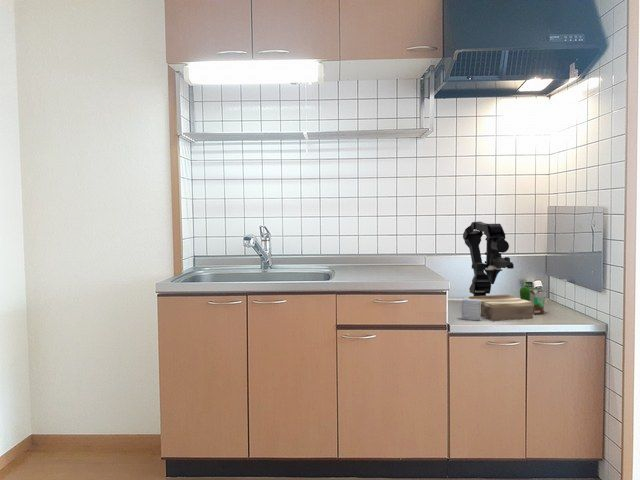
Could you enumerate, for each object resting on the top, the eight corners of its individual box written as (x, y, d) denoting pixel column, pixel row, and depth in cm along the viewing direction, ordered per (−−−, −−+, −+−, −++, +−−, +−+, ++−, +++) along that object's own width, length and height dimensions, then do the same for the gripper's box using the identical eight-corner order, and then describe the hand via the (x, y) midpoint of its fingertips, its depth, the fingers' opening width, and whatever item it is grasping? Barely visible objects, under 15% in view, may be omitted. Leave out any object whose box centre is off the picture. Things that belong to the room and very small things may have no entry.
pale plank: (477, 302, 235) (477, 299, 234) (516, 300, 239) (516, 297, 239) (492, 308, 223) (492, 304, 223) (532, 305, 228) (532, 302, 228)
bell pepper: (534, 302, 263) (534, 282, 262) (539, 305, 255) (539, 285, 254) (517, 301, 264) (517, 282, 263) (521, 305, 256) (522, 285, 255)
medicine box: (480, 318, 227) (481, 299, 227) (480, 320, 223) (480, 301, 222) (462, 317, 230) (462, 298, 229) (461, 319, 226) (461, 300, 225)
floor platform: (468, 311, 242) (468, 296, 242) (506, 308, 247) (506, 294, 246) (492, 320, 223) (492, 304, 222) (533, 318, 228) (533, 302, 227)
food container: (548, 315, 233) (549, 293, 232) (534, 314, 234) (534, 293, 233) (542, 309, 245) (543, 288, 244) (529, 309, 246) (529, 288, 245)
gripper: (484, 252, 229) (483, 287, 230) (521, 251, 233) (520, 285, 235) (471, 250, 240) (470, 284, 241) (506, 249, 244) (506, 282, 245)
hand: (492, 284), depth 240 cm, fingers closed
